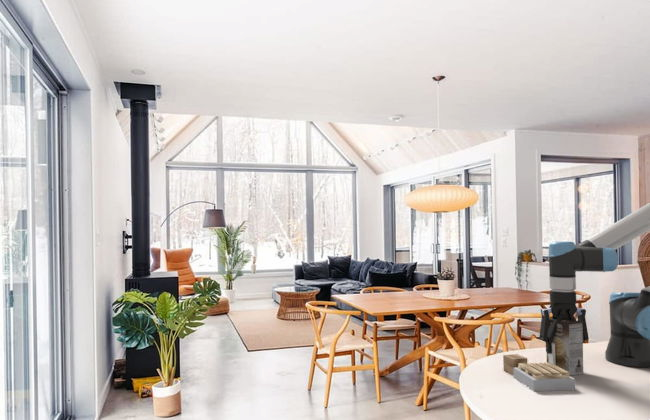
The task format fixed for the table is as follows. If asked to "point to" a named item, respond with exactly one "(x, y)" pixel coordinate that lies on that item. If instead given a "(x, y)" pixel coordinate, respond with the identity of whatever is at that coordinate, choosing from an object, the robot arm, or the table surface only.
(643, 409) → the table surface
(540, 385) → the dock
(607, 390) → the table surface
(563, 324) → the coffee box
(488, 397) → the table surface
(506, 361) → the light brown cube
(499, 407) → the table surface
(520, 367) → the pallet
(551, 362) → the robot arm
